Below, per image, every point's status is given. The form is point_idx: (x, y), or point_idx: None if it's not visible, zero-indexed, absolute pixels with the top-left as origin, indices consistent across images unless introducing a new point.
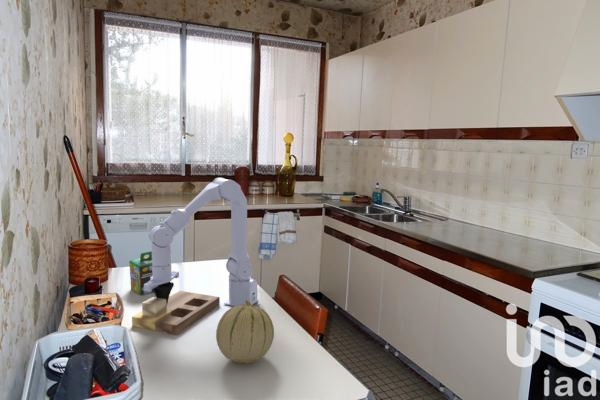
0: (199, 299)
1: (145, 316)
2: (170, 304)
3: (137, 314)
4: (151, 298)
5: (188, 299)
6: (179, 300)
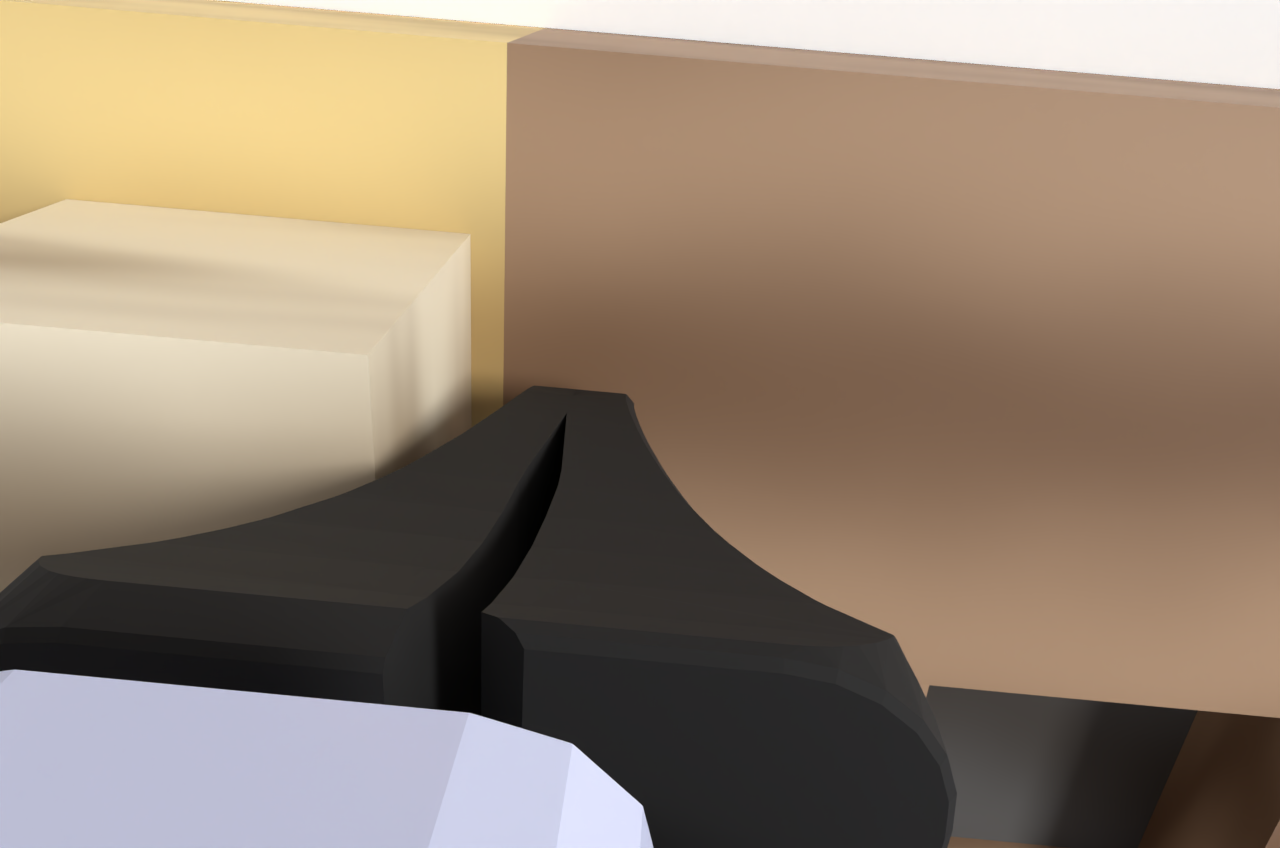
0: (1269, 815)
1: None
2: (858, 455)
3: (20, 45)
4: (228, 385)
5: (1227, 663)
6: (1144, 521)
